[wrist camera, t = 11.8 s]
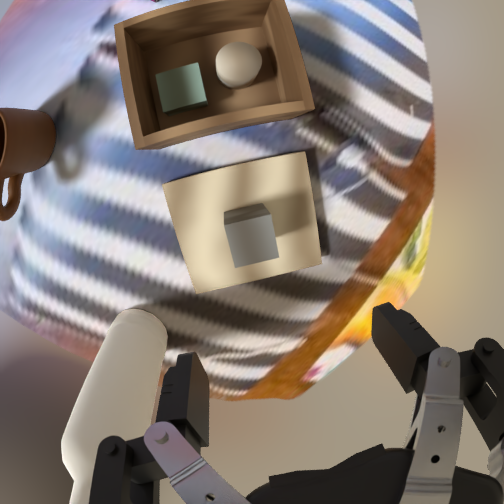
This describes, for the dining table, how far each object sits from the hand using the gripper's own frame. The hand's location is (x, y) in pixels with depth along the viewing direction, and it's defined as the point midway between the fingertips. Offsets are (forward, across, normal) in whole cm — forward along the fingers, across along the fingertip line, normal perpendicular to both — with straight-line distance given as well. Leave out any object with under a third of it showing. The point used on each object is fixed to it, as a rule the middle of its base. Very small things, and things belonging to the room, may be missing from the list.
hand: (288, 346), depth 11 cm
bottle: (+20, +18, +11) cm, 28 cm away
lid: (+19, 0, 0) cm, 19 cm away
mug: (+20, +23, -15) cm, 34 cm away
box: (+20, 0, -16) cm, 26 cm away
